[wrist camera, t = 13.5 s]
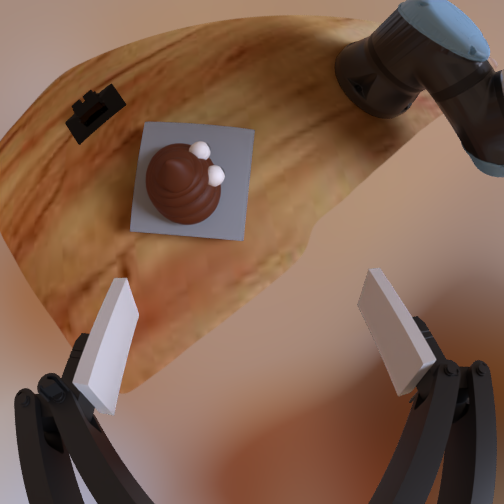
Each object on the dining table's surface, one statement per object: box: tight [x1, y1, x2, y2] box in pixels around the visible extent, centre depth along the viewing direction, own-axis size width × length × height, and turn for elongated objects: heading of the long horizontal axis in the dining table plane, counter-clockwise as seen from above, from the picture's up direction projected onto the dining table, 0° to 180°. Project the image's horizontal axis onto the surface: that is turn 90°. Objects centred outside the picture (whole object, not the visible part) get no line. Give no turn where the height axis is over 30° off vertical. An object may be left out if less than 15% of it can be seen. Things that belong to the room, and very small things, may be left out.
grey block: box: [130, 122, 255, 241], centre depth 34 cm, size 14×14×4 cm
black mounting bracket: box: [66, 84, 126, 145], centre depth 31 cm, size 12×7×5 cm, turn 127°
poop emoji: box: [146, 141, 225, 225], centre depth 27 cm, size 10×8×9 cm
